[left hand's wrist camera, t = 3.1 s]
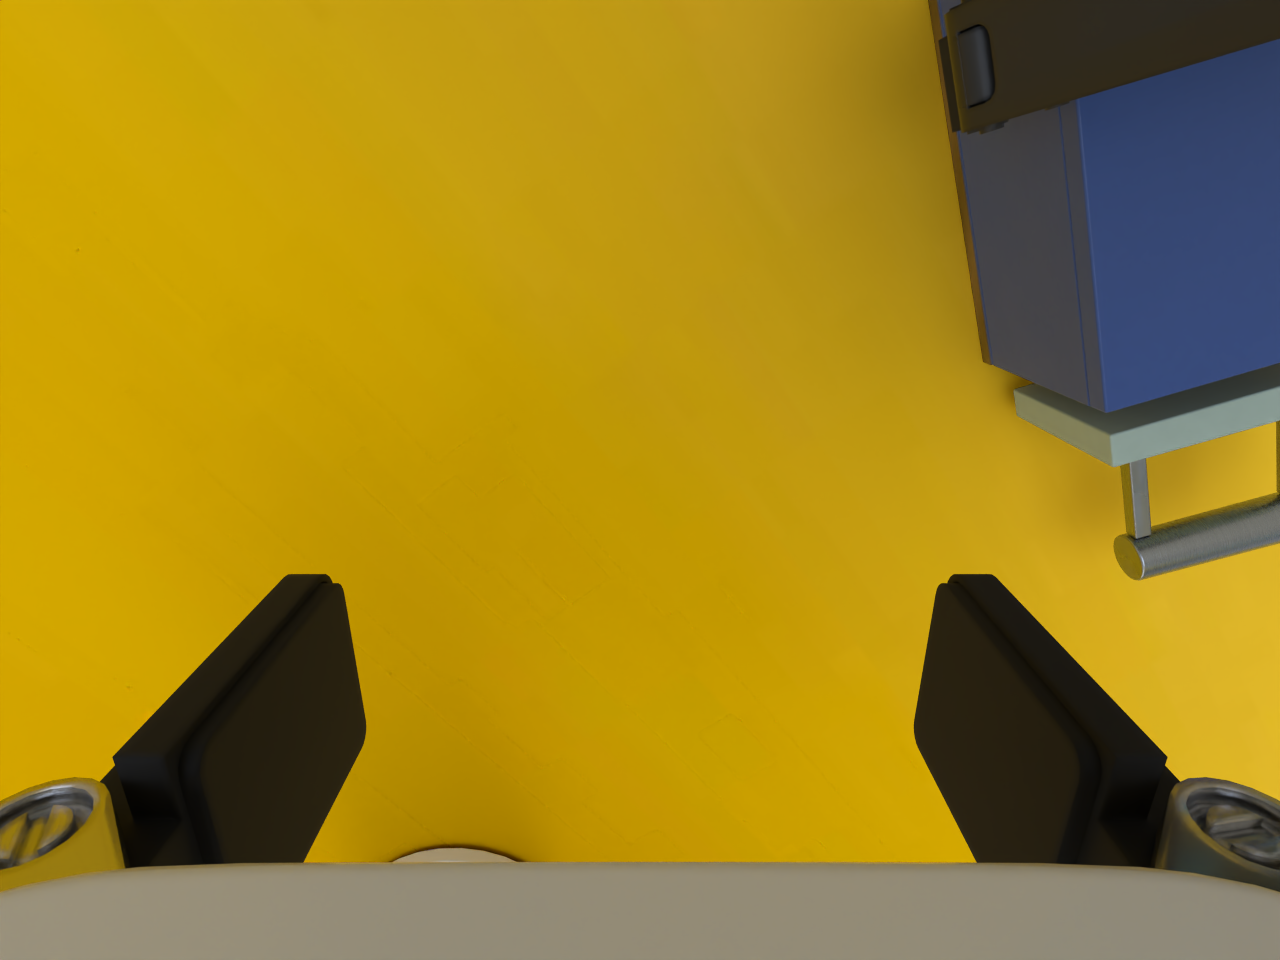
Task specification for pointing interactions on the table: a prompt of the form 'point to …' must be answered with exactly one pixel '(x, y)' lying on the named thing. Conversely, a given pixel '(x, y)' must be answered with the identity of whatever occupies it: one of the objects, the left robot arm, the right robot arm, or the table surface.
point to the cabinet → (1129, 231)
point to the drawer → (1163, 430)
